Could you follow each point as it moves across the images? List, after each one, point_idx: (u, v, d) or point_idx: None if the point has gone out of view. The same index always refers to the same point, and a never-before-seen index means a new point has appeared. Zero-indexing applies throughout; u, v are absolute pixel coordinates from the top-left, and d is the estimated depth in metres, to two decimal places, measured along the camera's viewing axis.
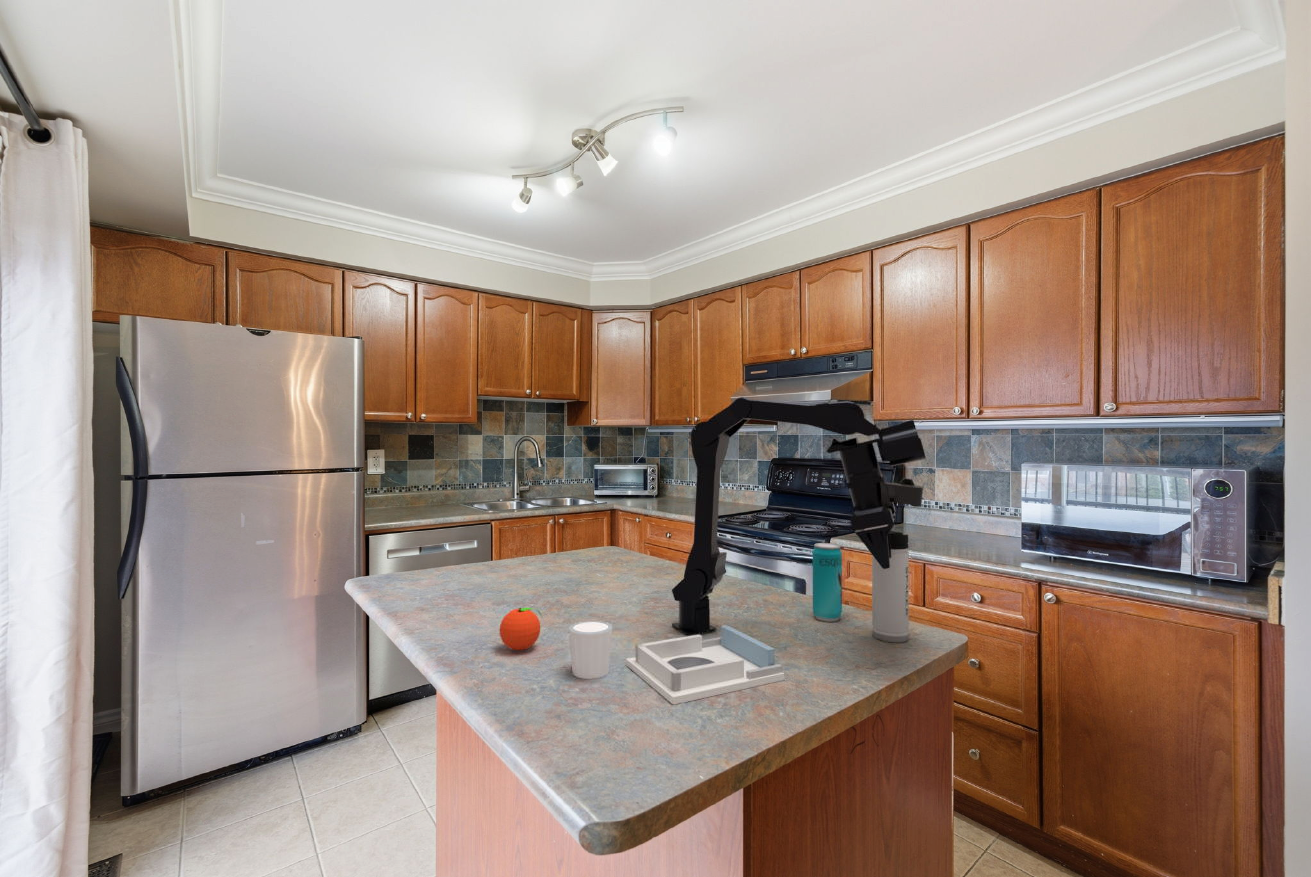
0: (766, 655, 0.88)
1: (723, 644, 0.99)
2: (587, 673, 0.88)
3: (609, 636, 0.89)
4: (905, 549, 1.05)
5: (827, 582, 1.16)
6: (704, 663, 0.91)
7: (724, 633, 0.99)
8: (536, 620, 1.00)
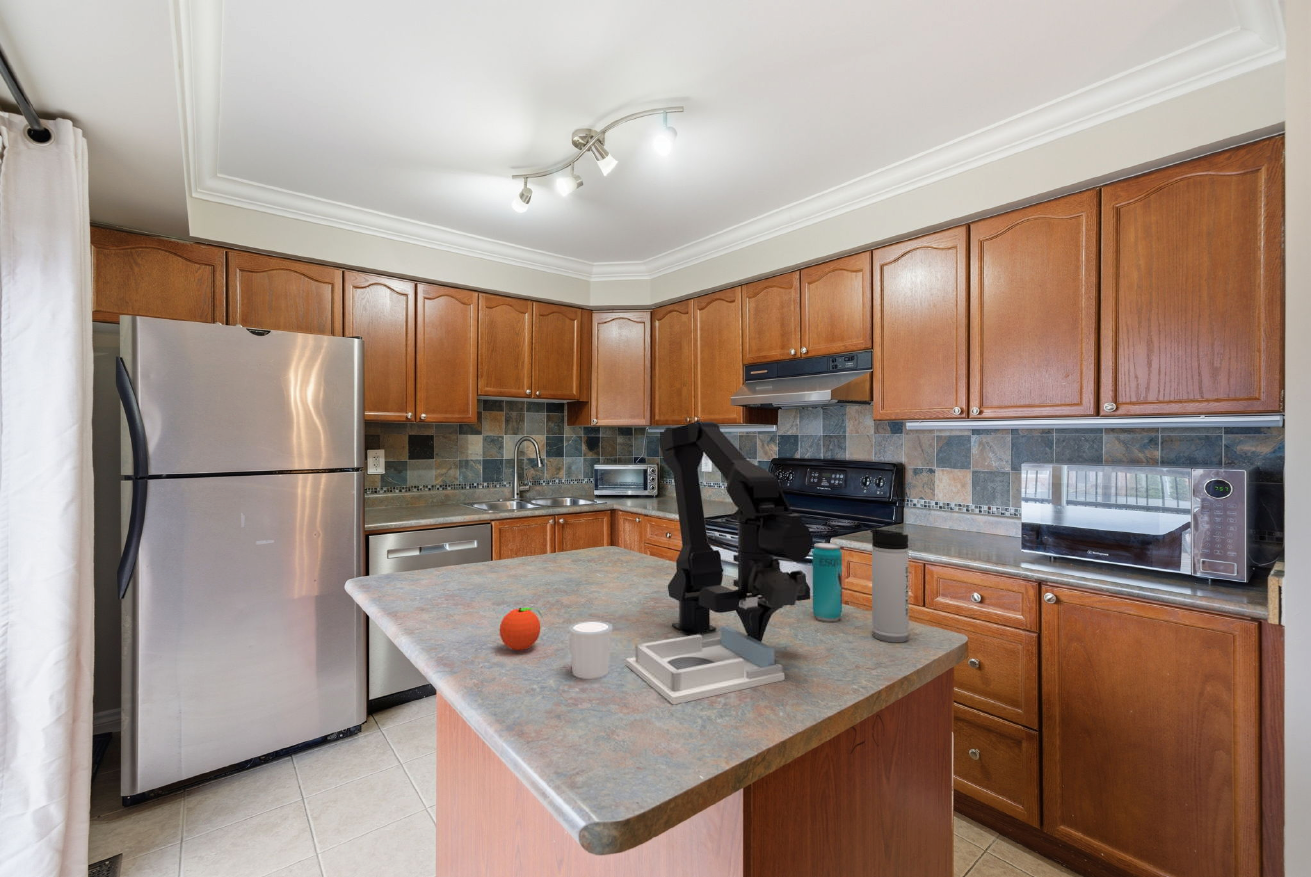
0: (766, 655, 0.88)
1: (723, 644, 0.99)
2: (587, 673, 0.88)
3: (609, 636, 0.89)
4: (905, 549, 1.05)
5: (827, 582, 1.16)
6: (704, 663, 0.91)
7: (724, 633, 0.99)
8: (536, 620, 1.00)
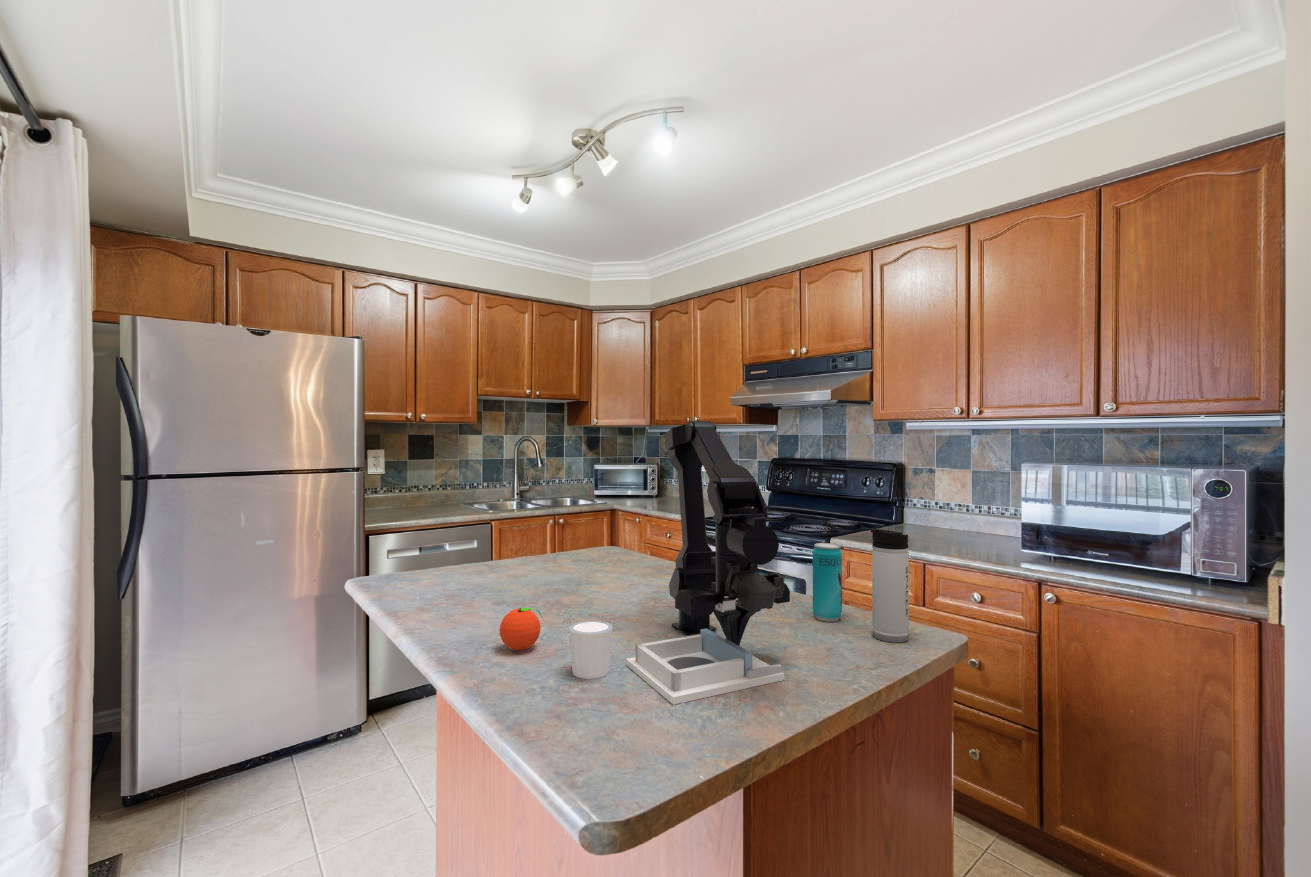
0: (743, 659, 0.87)
1: (702, 648, 0.97)
2: (587, 673, 0.88)
3: (609, 636, 0.89)
4: (905, 549, 1.05)
5: (827, 582, 1.16)
6: (704, 663, 0.91)
7: (704, 637, 0.97)
8: (536, 620, 1.00)
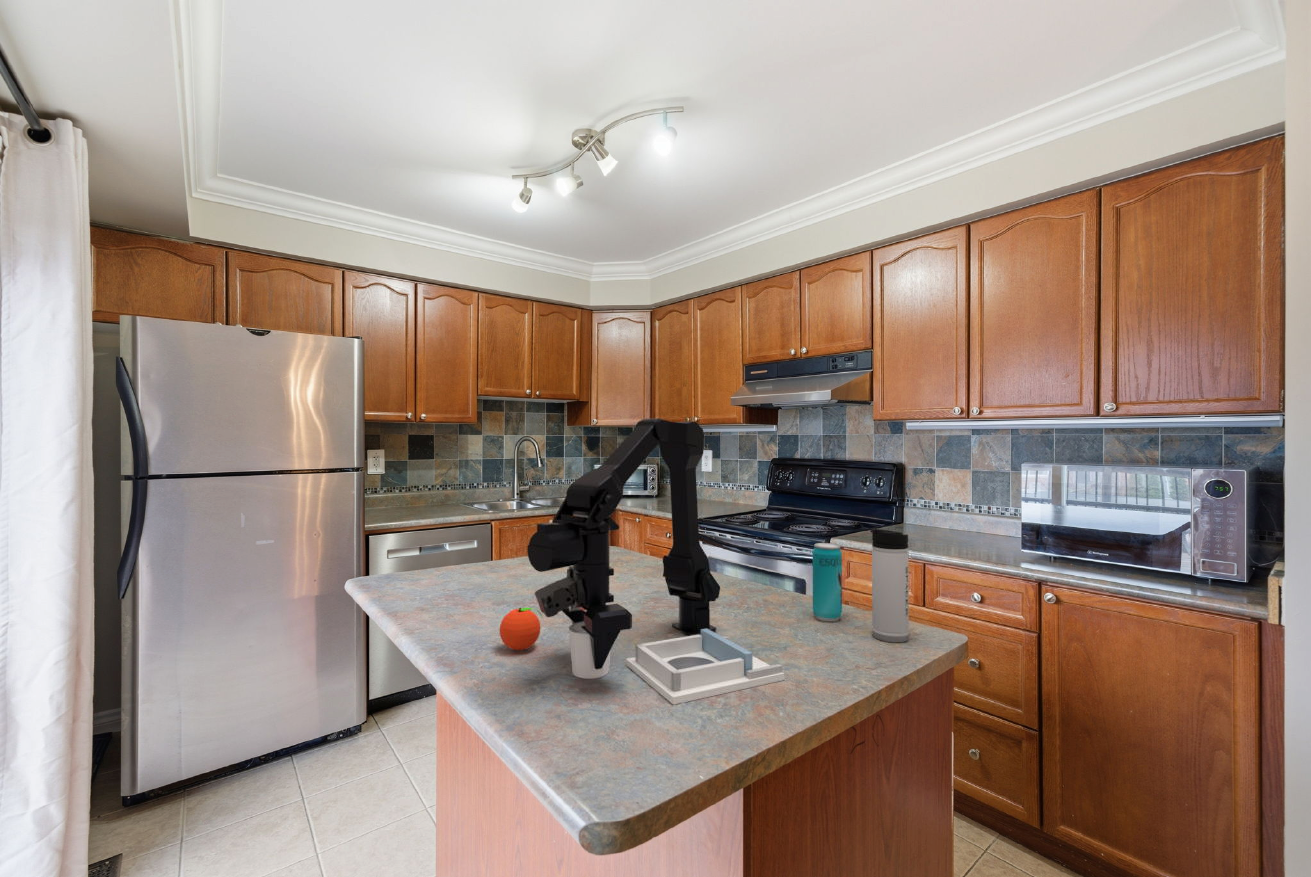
0: (744, 659, 0.87)
1: (703, 648, 0.97)
2: (587, 673, 0.88)
3: None
4: (905, 549, 1.05)
5: (827, 582, 1.16)
6: (704, 663, 0.91)
7: (704, 637, 0.97)
8: (536, 620, 1.00)
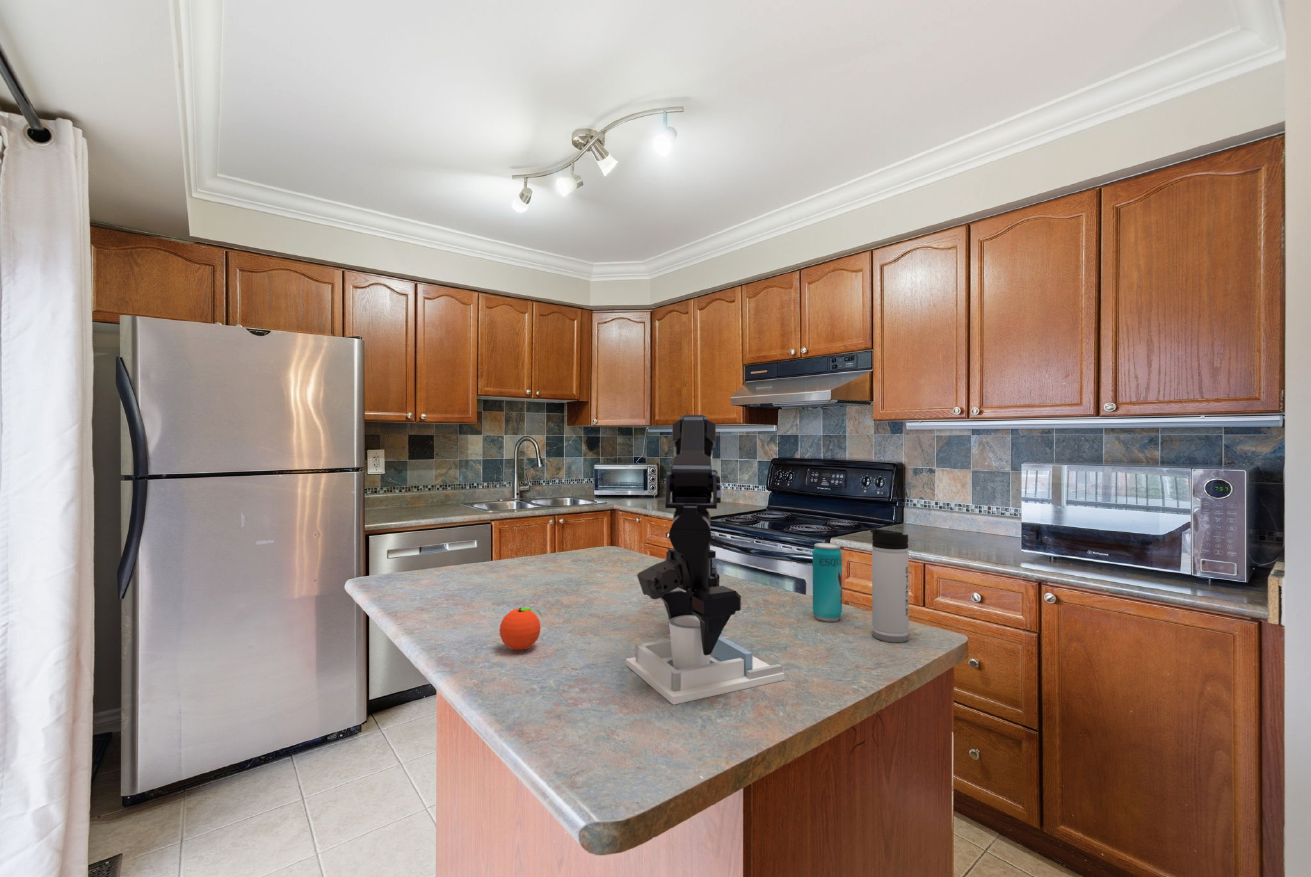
0: (744, 659, 0.87)
1: None
2: None
3: None
4: (905, 549, 1.05)
5: (827, 582, 1.16)
6: None
7: None
8: (536, 620, 1.00)
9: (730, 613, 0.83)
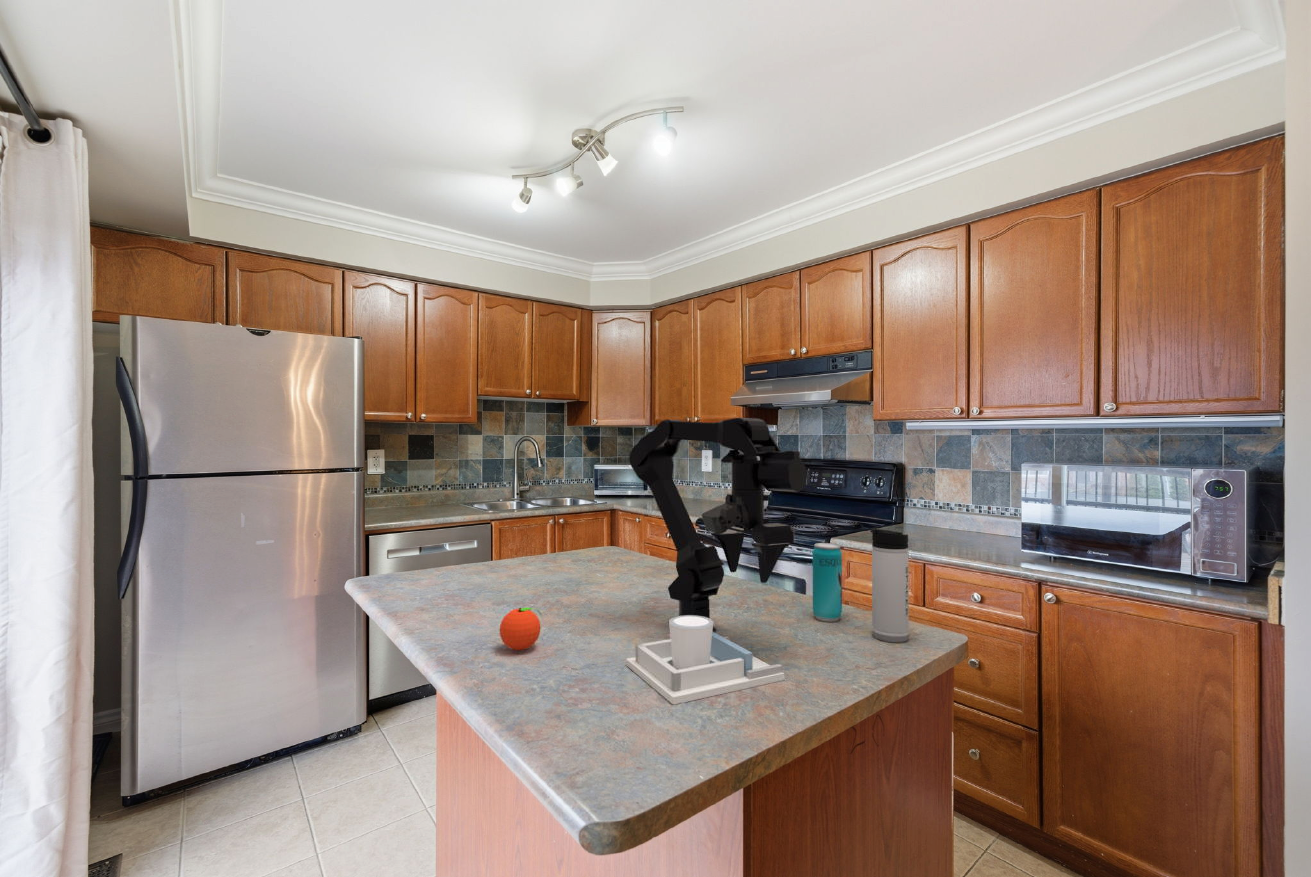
0: (744, 659, 0.87)
1: None
2: None
3: (711, 630, 0.88)
4: (905, 549, 1.05)
5: (827, 582, 1.16)
6: None
7: None
8: (536, 620, 1.00)
9: (785, 545, 0.96)
